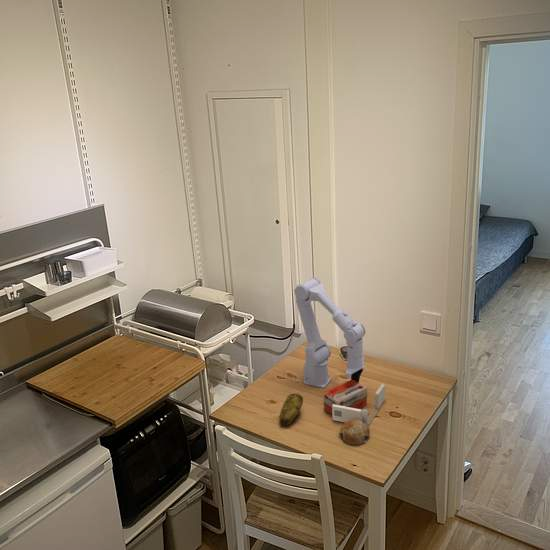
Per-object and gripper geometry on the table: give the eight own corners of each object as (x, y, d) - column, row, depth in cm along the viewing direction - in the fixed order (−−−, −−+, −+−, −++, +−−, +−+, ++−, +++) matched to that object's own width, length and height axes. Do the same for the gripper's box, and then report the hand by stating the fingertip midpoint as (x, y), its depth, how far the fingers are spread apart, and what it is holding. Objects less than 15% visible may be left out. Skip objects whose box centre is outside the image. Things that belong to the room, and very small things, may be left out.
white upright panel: (360, 427, 208) (360, 411, 206) (380, 398, 225) (380, 382, 223) (366, 428, 207) (366, 412, 205) (386, 399, 224) (386, 384, 222)
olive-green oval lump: (270, 421, 215) (269, 402, 212) (294, 405, 224) (293, 388, 221) (287, 429, 210) (286, 411, 207) (310, 413, 218) (309, 395, 215)
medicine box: (337, 420, 213) (337, 401, 210) (323, 410, 219) (322, 392, 217) (367, 405, 221) (367, 386, 218) (353, 396, 227) (352, 378, 225)
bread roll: (357, 456, 199) (366, 441, 195) (332, 438, 202) (341, 423, 198) (368, 440, 207) (377, 425, 203) (344, 423, 210) (353, 408, 206)
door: (360, 425, 208) (360, 411, 206) (332, 420, 213) (332, 406, 210) (361, 423, 210) (361, 409, 207) (333, 418, 214) (333, 404, 212)
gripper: (357, 365, 213) (357, 397, 218) (371, 348, 225) (371, 378, 230) (339, 361, 216) (340, 392, 221) (354, 344, 228) (354, 374, 233)
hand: (355, 385), depth 226 cm, fingers closed
